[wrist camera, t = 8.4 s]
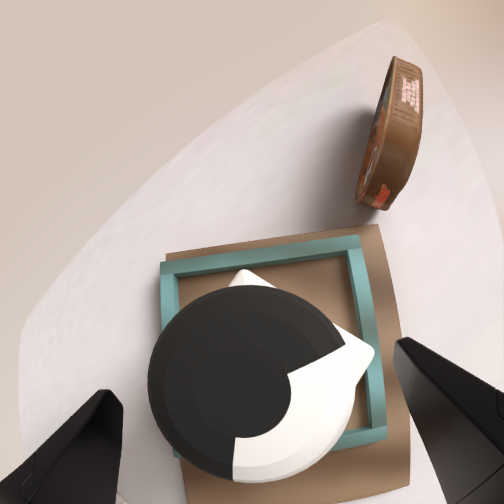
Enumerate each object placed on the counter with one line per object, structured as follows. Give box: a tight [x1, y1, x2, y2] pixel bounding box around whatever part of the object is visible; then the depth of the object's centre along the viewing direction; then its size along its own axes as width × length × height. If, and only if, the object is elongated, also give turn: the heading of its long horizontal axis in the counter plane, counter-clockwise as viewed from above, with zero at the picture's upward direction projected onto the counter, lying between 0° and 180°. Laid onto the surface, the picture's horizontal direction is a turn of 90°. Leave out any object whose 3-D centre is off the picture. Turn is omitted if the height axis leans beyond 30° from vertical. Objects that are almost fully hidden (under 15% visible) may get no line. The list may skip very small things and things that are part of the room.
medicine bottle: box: [148, 269, 375, 483], centre depth 12 cm, size 7×7×12 cm
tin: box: [355, 56, 423, 211], centre depth 20 cm, size 15×3×8 cm, turn 157°
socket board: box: [160, 224, 410, 504], centre depth 18 cm, size 20×16×2 cm
